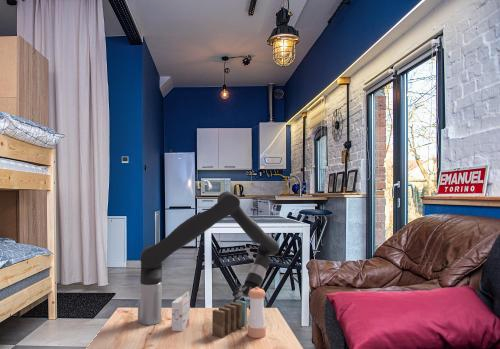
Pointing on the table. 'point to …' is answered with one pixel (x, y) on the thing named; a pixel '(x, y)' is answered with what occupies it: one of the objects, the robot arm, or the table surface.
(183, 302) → the ink cartridge box
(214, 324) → the walnut tile
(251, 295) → the pepper shaker
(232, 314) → the walnut tile
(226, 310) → the walnut tile
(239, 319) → the walnut tile
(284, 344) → the table surface
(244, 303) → the teal tile
